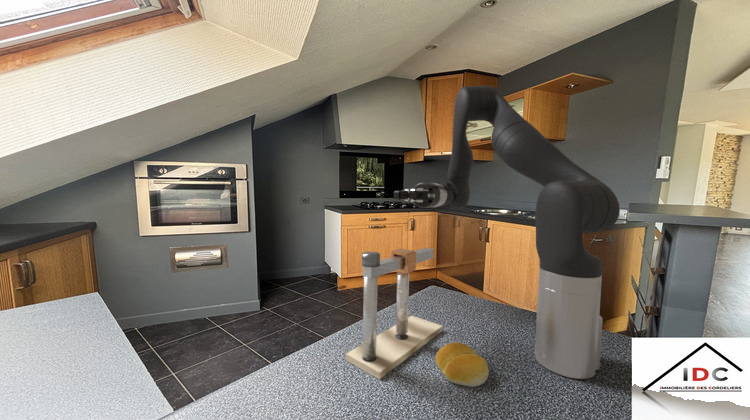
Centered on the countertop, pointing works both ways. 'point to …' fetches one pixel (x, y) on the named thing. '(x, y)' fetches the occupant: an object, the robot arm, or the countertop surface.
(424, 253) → the metal gantry frame
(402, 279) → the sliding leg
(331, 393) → the countertop surface
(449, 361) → the bread roll
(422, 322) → the plate
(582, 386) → the countertop surface
